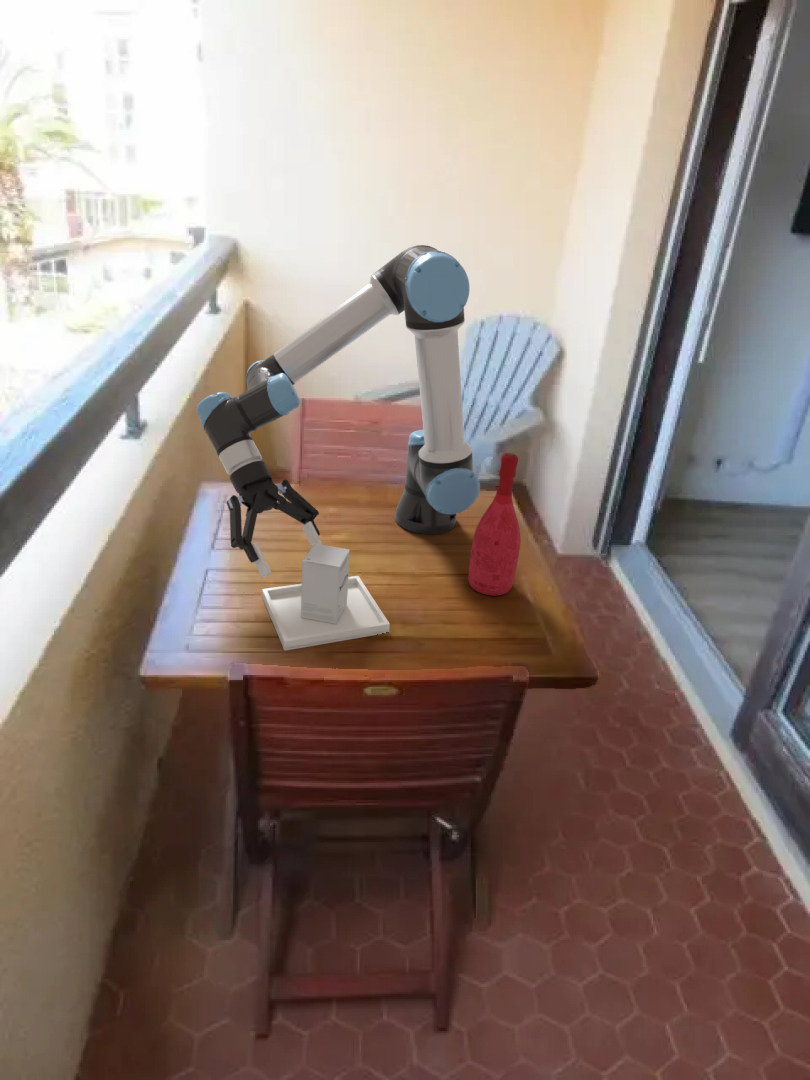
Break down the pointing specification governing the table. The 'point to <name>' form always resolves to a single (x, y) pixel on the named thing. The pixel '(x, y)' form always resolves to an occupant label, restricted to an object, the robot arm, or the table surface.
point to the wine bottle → (497, 538)
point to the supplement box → (324, 583)
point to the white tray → (301, 632)
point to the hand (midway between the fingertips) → (294, 563)
